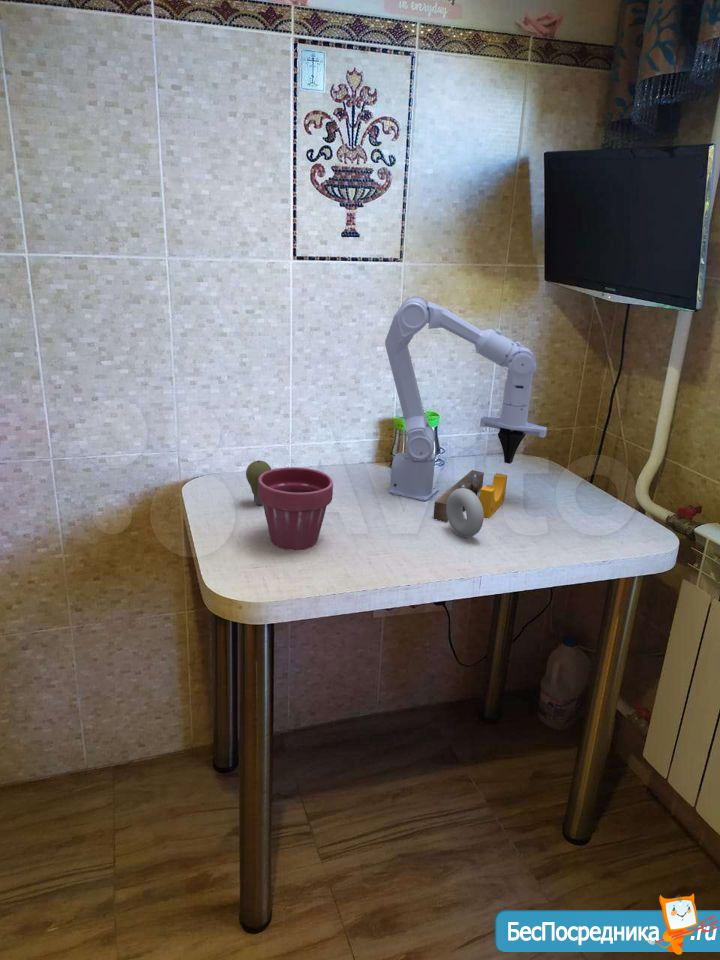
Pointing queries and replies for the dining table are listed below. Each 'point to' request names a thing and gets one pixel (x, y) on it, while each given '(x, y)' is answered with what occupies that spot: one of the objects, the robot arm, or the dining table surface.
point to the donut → (473, 512)
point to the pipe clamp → (493, 495)
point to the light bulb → (256, 476)
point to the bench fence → (469, 481)
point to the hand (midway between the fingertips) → (508, 462)
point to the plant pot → (294, 505)
